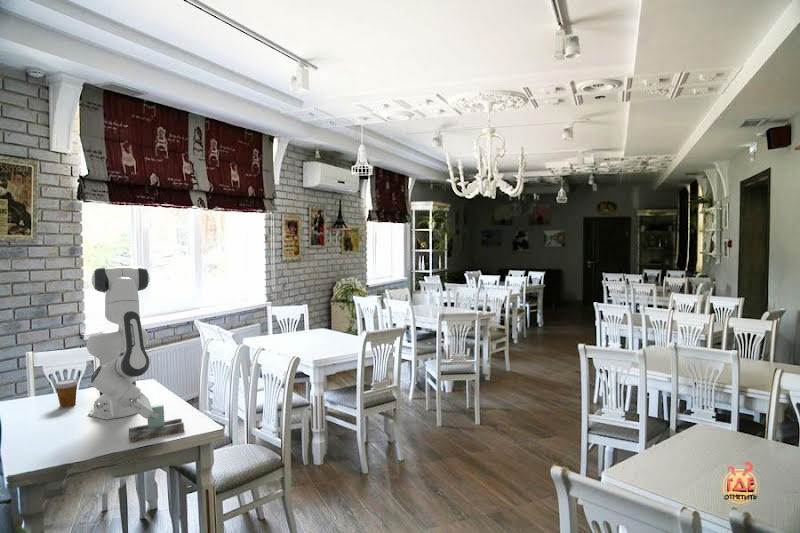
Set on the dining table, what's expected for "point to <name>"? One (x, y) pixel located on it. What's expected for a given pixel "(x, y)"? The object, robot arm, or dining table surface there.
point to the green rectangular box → (157, 421)
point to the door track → (155, 430)
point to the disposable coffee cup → (66, 392)
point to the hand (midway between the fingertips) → (157, 415)
